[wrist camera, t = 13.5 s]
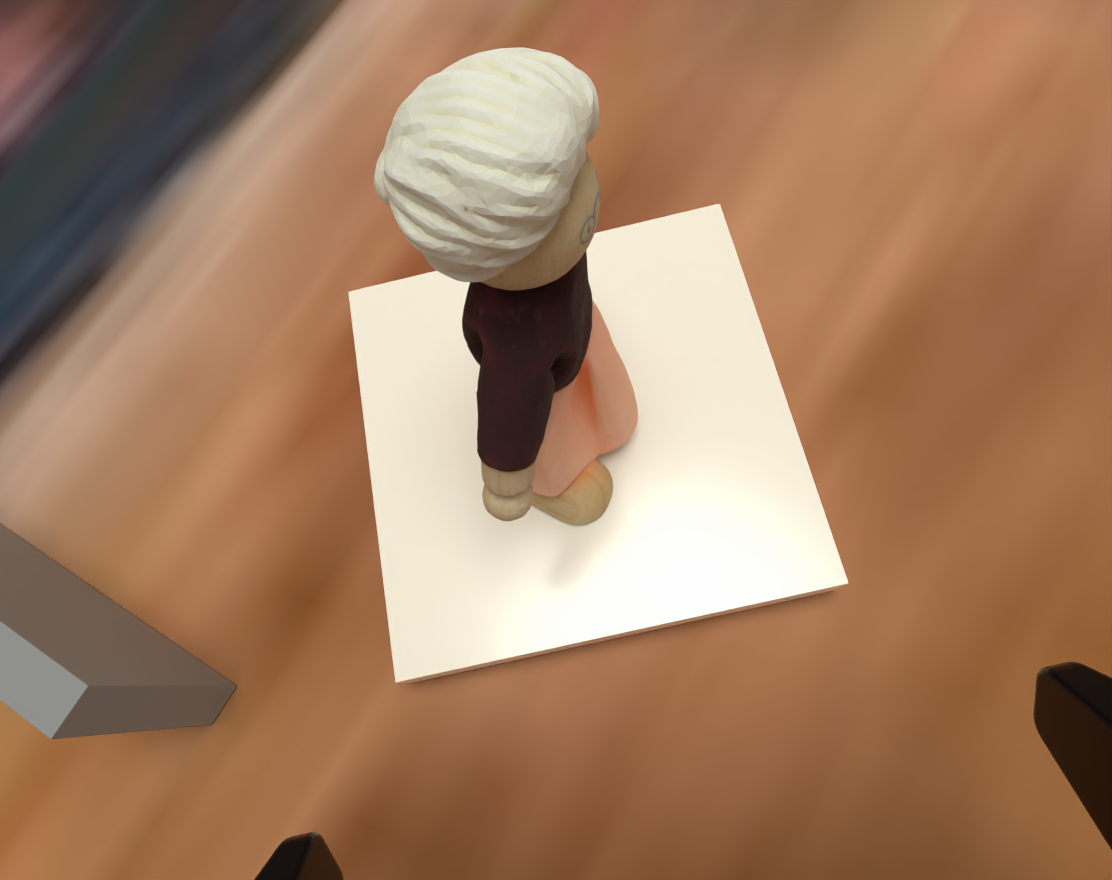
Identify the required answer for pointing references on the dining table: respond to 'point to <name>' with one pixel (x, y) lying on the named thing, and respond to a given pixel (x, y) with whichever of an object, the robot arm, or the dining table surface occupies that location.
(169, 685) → the open crate
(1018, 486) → the dining table surface
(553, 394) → the grandmother figurine
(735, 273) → the ceramic tile
